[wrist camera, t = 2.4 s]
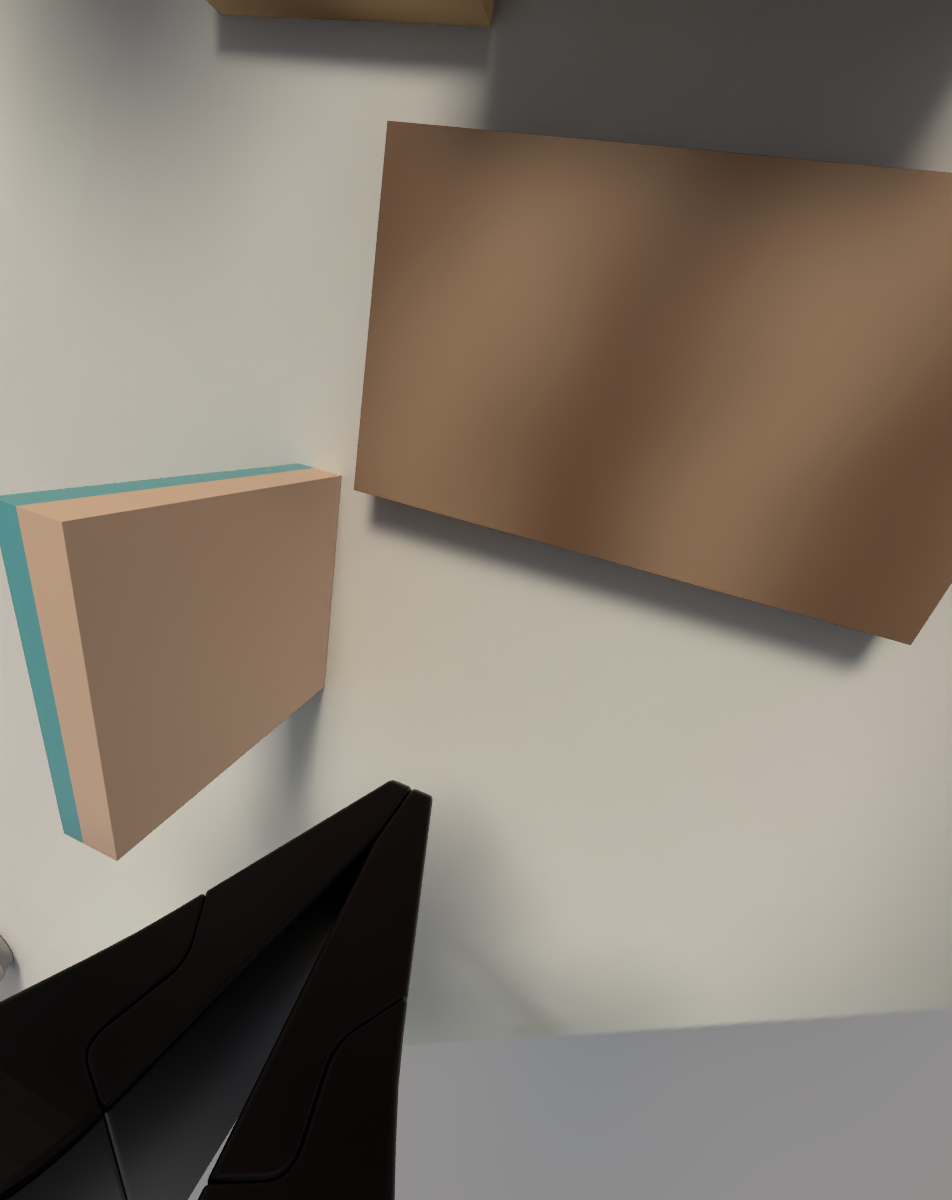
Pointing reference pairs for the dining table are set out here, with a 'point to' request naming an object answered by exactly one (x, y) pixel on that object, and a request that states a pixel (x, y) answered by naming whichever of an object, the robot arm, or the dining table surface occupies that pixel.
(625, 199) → the board
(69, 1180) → the robot arm
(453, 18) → the stepped wooden block
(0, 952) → the energy drink can
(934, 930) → the dining table surface
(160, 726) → the tile
